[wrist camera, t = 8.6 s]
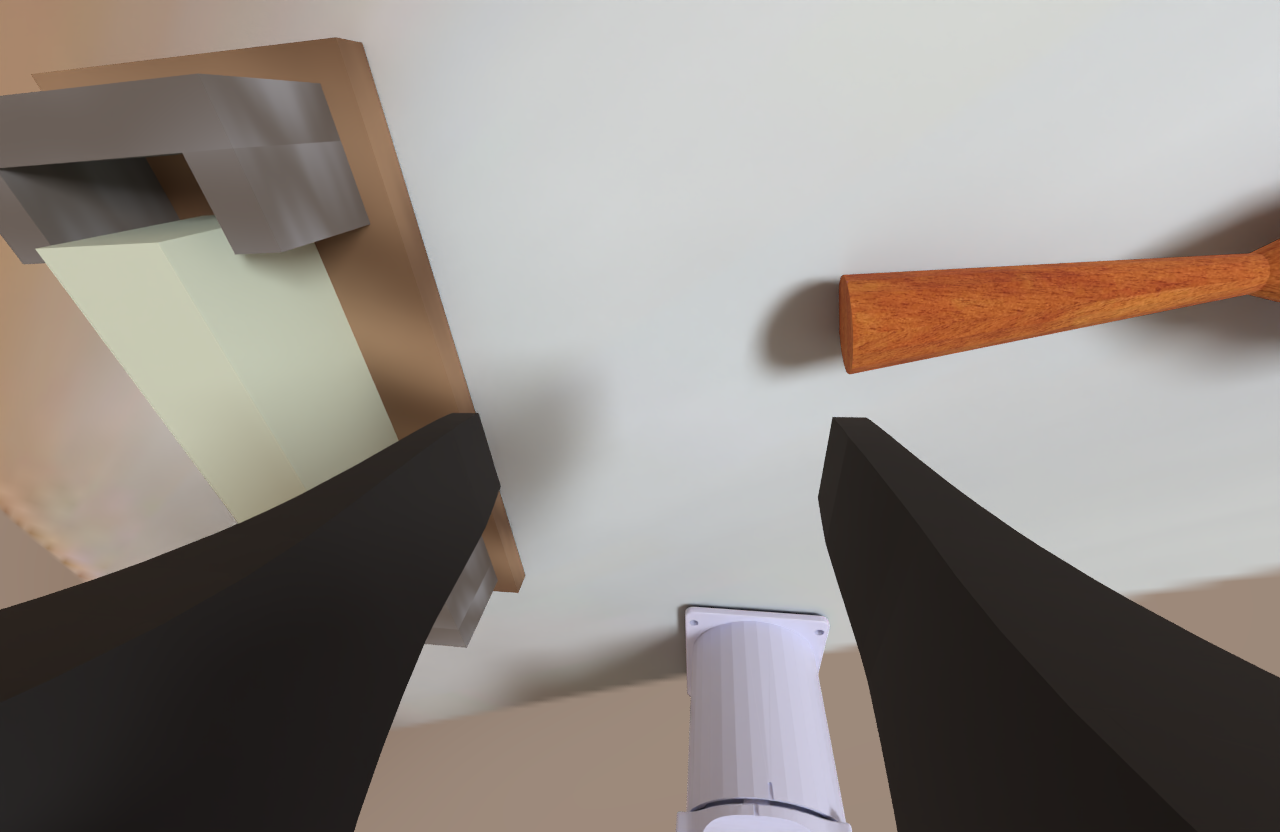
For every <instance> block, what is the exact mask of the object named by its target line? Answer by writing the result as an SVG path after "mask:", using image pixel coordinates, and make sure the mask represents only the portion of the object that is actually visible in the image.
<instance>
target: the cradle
mask: <svg viewBox="0 0 1280 832" xmlns="http://www.w3.org/2000/svg"><path fill="white" fill-rule="evenodd" d="M31 75H32V77H33V78H34V80H35V82H36V83H37V85H38V86H39V88H40V90H41V91H40V92H31V93H22V94H13V95H4V96H0V234H1V236H2V237H3V238H4V240H5V241H6V242H7V244H8V245H9V246H10V247H11V249H12V250H13V251H14V253H15V254H16V255H17V257H18V258H19V259H20V261H21V262H22V263H23V264H39V263H45V261H44V260H43V259H42V257H41V256H40V255H39V253H38V252H37V251H36V249H37V248H42V247H47V246H52V245H57V244H62V243H67V242H72V241H77V240H82V239H87V238H92V237H97V236H102V235H107V234H113V233H118V232H123V231H128V230H133V229H138V228H143V227H148V226H153V225H158V224H163V223H168V222H173V221H178V220H184V219H189V218H194V217H199V216H206V215H215V217H216V219H217V221H218V223H219V224H220V226H221V228H222V230H223V232H224V234H225V236H226V238H227V240H228V242H229V244H230V246H231V247H232V249H233V251H234V253H235V255H236V254H258V253H280V252H285V251H288V250H291V249H294V248H297V247H300V246H304V245H307V244H310V243H313V242H314V243H315V245H316V248H317V250H318V252H319V255H320V257H321V259H322V262H323V264H324V266H325V269H326V271H327V273H328V276H329V278H330V281H331V283H332V285H333V288H334V290H335V292H336V295H337V297H338V299H339V302H340V304H341V306H342V309H343V311H344V313H345V316H346V318H347V320H348V323H349V325H350V327H351V330H352V332H353V334H354V337H355V339H356V342H357V344H358V346H359V349H360V351H361V353H362V356H363V358H364V360H365V363H366V365H367V367H368V370H369V372H370V374H371V377H372V379H373V381H374V384H375V386H376V388H377V391H378V393H379V395H380V398H381V400H382V403H383V405H384V407H385V410H386V412H387V414H388V417H389V419H390V421H391V424H392V426H393V428H394V431H395V433H396V435H397V438H398V440H401V439H403V438H404V437H406V436H408V435H410V434H411V433H413V432H415V431H417V430H419V429H420V428H422V427H424V426H426V425H428V424H430V423H432V422H433V421H435V420H437V419H439V418H442V417H444V416H446V415H448V414H451V413H475V410H474V406H473V403H472V400H471V397H470V393H469V390H468V387H467V384H466V380H465V377H464V374H463V370H462V367H461V364H460V361H459V357H458V354H457V351H456V348H455V344H454V341H453V338H452V335H451V331H450V328H449V325H448V322H447V318H446V315H445V312H444V308H443V305H442V302H441V299H440V295H439V292H438V289H437V286H436V282H435V279H434V276H433V273H432V269H431V266H430V263H429V259H428V256H427V253H426V250H425V246H424V243H423V240H422V237H421V233H420V230H419V227H418V224H417V220H416V217H415V214H414V211H413V207H412V204H411V201H410V197H409V194H408V191H407V188H406V184H405V181H404V178H403V175H402V171H401V168H400V165H399V162H398V158H397V155H396V152H395V148H394V145H393V142H392V139H391V135H390V132H389V129H388V126H387V122H386V119H385V116H384V113H383V109H382V106H381V103H380V100H379V96H378V93H377V90H376V86H375V83H374V80H373V77H372V73H371V70H370V67H369V64H368V60H367V57H366V54H365V51H364V47H363V44H362V43H360V42H355V41H351V40H346V39H341V38H327V39H319V40H311V41H303V42H294V43H286V44H278V45H269V46H261V47H253V48H245V49H236V50H228V51H220V52H212V53H203V54H195V55H187V56H178V57H170V58H162V59H154V60H145V61H137V62H129V63H121V64H112V65H104V66H96V67H87V68H79V69H71V70H63V71H54V72H46V73H38V74H31ZM524 578H525V573H524V570H523V566H522V563H521V560H520V557H519V553H518V550H517V547H516V544H515V540H514V537H513V534H512V530H511V527H510V524H509V521H508V517H507V514H506V511H505V508H504V504H503V501H502V498H501V495H500V491H499V493H498V496H497V498H496V501H495V504H494V507H493V510H492V512H491V515H490V518H489V520H488V523H487V525H486V528H485V530H484V532H483V534H482V536H481V537H480V539H479V541H478V543H477V545H476V547H475V549H474V551H473V553H472V555H471V556H470V558H469V560H468V562H467V564H466V566H465V568H464V569H463V571H462V573H461V575H460V577H459V579H458V580H457V582H456V584H455V586H454V588H453V590H452V591H451V593H450V595H449V597H448V599H447V601H446V603H445V604H444V606H443V608H442V610H441V612H440V614H439V615H438V617H437V619H436V621H435V623H434V625H433V627H432V629H431V631H430V633H429V635H428V637H427V639H426V641H425V644H432V645H443V646H454V647H465V648H467V646H468V644H469V642H470V640H471V637H472V635H473V633H474V631H475V629H476V627H477V624H478V622H479V620H480V618H481V616H482V614H483V611H484V609H485V607H486V605H487V603H488V601H489V598H490V596H491V594H492V592H493V591H500V592H515V593H518V592H519V590H520V587H521V585H522V582H523V580H524Z"/></svg>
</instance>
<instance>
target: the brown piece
mask: <svg viewBox="0 0 1280 832" xmlns="http://www.w3.org/2000/svg"><path fill="white" fill-rule="evenodd" d="M1247 294H1248V295H1252V296H1256V297H1260V298H1264V299H1268V300H1272V301H1276V302H1280V239H1278V240H1276V241H1274V242H1272V243H1270V244H1268V245H1266V246H1264V247H1262V248H1259V249H1257V250H1255V251H1253V252H1251V253H1247V254H1228V255H1209V256H1191V257H1172V258H1153V259H1134V260H1116V261H1097V262H1078V263H1059V264H1040V265H1022V266H1003V267H984V268H965V269H947V270H928V271H909V272H890V273H871V274H853V275H843V276H841V278H840V283H839V334H840V343H841V351H842V356H843V362H844V366H845V369H846V372H847V373H848V374H854V373H859V372H863V371H868V370H873V369H878V368H883V367H888V366H893V365H898V364H903V363H908V362H913V361H918V360H923V359H928V358H933V357H938V356H943V355H948V354H953V353H958V352H963V351H968V350H973V349H978V348H983V347H988V346H993V345H998V344H1003V343H1008V342H1013V341H1018V340H1023V339H1028V338H1033V337H1038V336H1043V335H1048V334H1053V333H1058V332H1063V331H1068V330H1073V329H1078V328H1083V327H1088V326H1092V325H1097V324H1102V323H1107V322H1112V321H1117V320H1122V319H1127V318H1132V317H1137V316H1142V315H1147V314H1152V313H1157V312H1162V311H1167V310H1172V309H1177V308H1182V307H1187V306H1192V305H1197V304H1202V303H1207V302H1212V301H1217V300H1222V299H1227V298H1232V297H1237V296H1242V295H1247Z"/></svg>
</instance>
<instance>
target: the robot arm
mask: <svg viewBox="0 0 1280 832" xmlns="http://www.w3.org/2000/svg"><path fill="white" fill-rule="evenodd" d="M500 487H501V486H500V483H499V480H498V476H497V473H496V470H495V466H494V463H493V460H492V456H491V453H490V450H489V446H488V443H487V440H486V437H485V433H484V430H483V427H482V423H481V420H480V417H479V413H451V414H448V415H446V416H444V417H442V418H439V419H437V420H435V421H433V422H432V423H430V424H428V425H426V426H424V427H422V428H420V429H419V430H417V431H415V432H413V433H411V434H410V435H408V436H406V437H404V438H403V439H401V440H399V441H397V442H396V443H394V444H392V445H390V446H388V447H387V448H385V449H383V450H381V451H380V452H378V453H376V454H374V455H373V456H371V457H369V458H367V459H366V460H364V461H362V462H360V463H359V464H357V465H355V466H353V467H351V468H349V469H347V470H346V471H344V472H342V473H340V474H338V475H336V476H334V477H332V478H331V479H329V480H327V481H325V482H323V483H321V484H319V485H317V486H316V487H314V488H312V489H310V490H308V491H306V492H304V493H302V494H300V495H298V496H296V497H294V498H292V499H290V500H288V501H286V502H284V503H282V504H280V505H278V506H276V507H274V508H272V509H270V510H267V511H265V512H263V513H261V514H259V515H256V516H254V517H252V518H250V519H248V520H245V521H243V522H241V523H239V524H236V525H234V526H232V527H230V528H227V529H225V530H223V531H220V532H218V533H215V534H213V535H210V536H208V537H205V538H203V539H200V540H198V541H195V542H193V543H190V544H188V545H185V546H182V547H180V548H177V549H175V550H172V551H170V552H167V553H165V554H162V555H160V556H157V557H155V558H152V559H150V560H147V561H144V562H142V563H139V564H136V565H134V566H131V567H128V568H125V569H122V570H119V571H117V572H114V573H111V574H108V575H105V576H102V577H100V578H97V579H94V580H91V581H88V582H85V583H82V584H79V585H76V586H73V587H70V588H67V589H64V590H61V591H58V592H55V593H52V594H49V595H46V596H43V597H40V598H37V599H33V600H30V601H27V602H24V603H21V604H17V605H14V606H11V607H8V608H5V609H1V610H0V832H354V830H355V827H356V823H357V820H358V817H359V814H360V811H361V808H362V805H363V802H364V799H365V797H366V794H367V791H368V788H369V785H370V782H371V779H372V777H373V774H374V771H375V768H376V765H377V762H378V760H379V757H380V754H381V751H382V748H383V746H384V743H385V740H386V738H387V735H388V733H389V730H390V727H391V725H392V722H393V720H394V717H395V714H396V712H397V709H398V707H399V704H400V701H401V699H402V696H403V694H404V691H405V689H406V686H407V684H408V682H409V679H410V677H411V675H412V672H413V670H414V667H415V665H416V663H417V660H418V658H419V655H420V653H421V651H422V648H423V646H424V644H425V641H426V639H427V637H428V635H429V633H430V631H431V629H432V627H433V625H434V623H435V621H436V619H437V617H438V615H439V614H440V612H441V610H442V608H443V606H444V604H445V603H446V601H447V599H448V597H449V595H450V593H451V591H452V590H453V588H454V586H455V584H456V582H457V580H458V579H459V577H460V575H461V573H462V571H463V569H464V568H465V566H466V564H467V562H468V560H469V558H470V556H471V555H472V553H473V551H474V549H475V547H476V545H477V543H478V541H479V539H480V537H481V536H482V534H483V532H484V530H485V528H486V525H487V523H488V520H489V518H490V515H491V512H492V510H493V507H494V504H495V501H496V498H497V496H498V493H499V490H500ZM818 501H819V507H820V513H821V520H822V526H823V531H824V536H825V542H826V546H827V549H828V553H829V556H830V559H831V563H832V566H833V569H834V572H835V576H836V579H837V582H838V585H839V588H840V592H841V595H842V598H843V601H844V604H845V607H846V611H847V614H848V617H849V620H850V623H851V626H852V630H853V633H854V636H855V639H856V642H857V645H858V649H859V652H860V655H861V659H862V662H863V666H864V670H865V673H866V677H867V681H868V685H869V689H870V694H871V699H872V704H873V709H874V713H875V718H876V723H877V728H878V732H879V737H880V742H881V746H882V752H883V757H884V762H885V768H886V773H887V778H888V783H889V788H890V793H891V798H892V804H893V809H894V814H895V820H896V825H897V831H898V832H1280V678H1279V677H1277V676H1275V675H1273V674H1271V673H1269V672H1267V671H1265V670H1263V669H1261V668H1259V667H1257V666H1255V665H1253V664H1251V663H1249V662H1247V661H1245V660H1243V659H1241V658H1239V657H1237V656H1235V655H1233V654H1231V653H1229V652H1227V651H1225V650H1223V649H1221V648H1219V647H1217V646H1215V645H1213V644H1211V643H1209V642H1208V641H1206V640H1204V639H1202V638H1200V637H1198V636H1196V635H1194V634H1192V633H1190V632H1189V631H1187V630H1185V629H1183V628H1181V627H1179V626H1178V625H1176V624H1174V623H1172V622H1170V621H1168V620H1166V619H1164V618H1163V617H1161V616H1159V615H1157V614H1155V613H1153V612H1151V611H1149V610H1148V609H1146V608H1144V607H1142V606H1140V605H1138V604H1137V603H1135V602H1133V601H1131V600H1129V599H1128V598H1126V597H1124V596H1122V595H1121V594H1119V593H1117V592H1115V591H1114V590H1112V589H1110V588H1108V587H1107V586H1105V585H1103V584H1101V583H1100V582H1098V581H1096V580H1094V579H1093V578H1091V577H1089V576H1088V575H1086V574H1084V573H1083V572H1081V571H1080V570H1078V569H1076V568H1075V567H1073V566H1071V565H1070V564H1068V563H1066V562H1065V561H1063V560H1062V559H1060V558H1058V557H1057V556H1055V555H1053V554H1052V553H1050V552H1048V551H1047V550H1045V549H1044V548H1042V547H1040V546H1039V545H1037V544H1036V543H1034V542H1033V541H1031V540H1030V539H1028V538H1026V537H1025V536H1023V535H1022V534H1020V533H1019V532H1017V531H1016V530H1014V529H1013V528H1011V527H1010V526H1009V525H1007V524H1006V523H1004V522H1003V521H1001V520H1000V519H999V518H997V517H996V516H994V515H993V514H991V513H990V512H988V511H987V510H986V509H984V508H983V507H981V506H980V505H978V504H977V503H976V502H974V501H973V500H972V499H970V498H969V497H968V496H966V495H965V494H963V493H962V492H961V491H959V490H958V489H957V488H955V487H954V486H953V485H951V484H950V483H949V482H947V481H946V480H945V479H944V478H942V477H941V476H940V475H938V474H937V473H936V472H935V471H933V470H932V469H931V468H929V467H928V466H927V465H926V464H924V463H923V462H922V461H921V460H919V459H918V458H917V457H916V456H914V455H913V454H912V453H911V452H910V451H908V450H907V449H906V448H905V447H903V446H902V445H901V444H900V443H898V442H897V441H896V440H895V439H894V438H892V437H891V436H890V435H889V434H887V433H886V432H885V431H884V430H882V429H881V428H880V427H879V426H877V425H876V424H875V423H873V422H872V421H871V420H869V419H868V418H854V417H833V418H832V424H831V429H830V435H829V440H828V446H827V451H826V457H825V462H824V468H823V473H822V479H821V484H820V490H819V495H818ZM829 628H830V625H829V620H828V619H827V618H826V617H824V616H817V615H803V614H789V613H775V612H761V611H747V610H733V609H719V608H705V607H689V608H687V609H686V611H685V630H686V665H687V693H688V695H689V696H690V697H691V708H690V733H689V760H688V761H689V762H688V787H687V812H678V813H677V824H676V832H852V829H851V825H850V824H849V823H846V820H845V815H844V810H843V804H842V799H841V793H840V788H839V783H838V778H837V772H836V767H835V762H834V757H833V751H832V746H831V741H830V735H829V730H828V725H827V720H826V715H825V709H824V703H823V698H822V693H821V688H820V683H819V677H818V672H819V668H820V664H821V660H822V656H823V652H824V648H825V644H826V640H827V636H828V632H829Z"/></svg>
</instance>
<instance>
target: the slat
mask: <svg viewBox="0 0 1280 832" xmlns="http://www.w3.org/2000/svg"><path fill="white" fill-rule="evenodd" d="M36 251H37V252H38V253H39V255H40V256H41V257H42V259H43V260H44V261H45V263H46V264H47V266H48V267H49V268H50V270H51V271H52V272H53V274H54V275H55V276H56V278H57V279H58V280H59V282H60V283H61V284H62V286H63V287H64V289H65V290H66V291H67V293H68V294H69V295H70V297H71V298H72V299H73V301H74V302H75V303H76V305H77V306H78V307H79V309H80V310H81V311H82V313H83V314H84V316H85V317H86V318H87V320H88V321H89V322H90V324H91V325H92V326H93V328H94V329H95V330H96V332H97V333H98V334H99V336H100V337H101V338H102V340H103V341H104V343H105V344H106V345H107V347H108V348H109V349H110V351H111V352H112V353H113V355H114V356H115V357H116V359H117V360H118V361H119V363H120V364H121V366H122V367H123V368H124V370H125V371H126V372H127V374H128V375H129V376H130V378H131V379H132V380H133V382H134V383H135V384H136V386H137V387H138V388H139V390H140V391H141V393H142V394H143V395H144V397H145V398H146V399H147V401H148V402H149V403H150V405H151V406H152V407H153V409H154V410H155V411H156V413H157V414H158V415H159V417H160V418H161V420H162V421H163V422H164V424H165V425H166V426H167V428H168V429H169V430H170V432H171V433H172V434H173V436H174V437H175V438H176V440H177V441H178V443H179V444H180V445H181V447H182V448H183V449H184V451H185V452H186V453H187V455H188V456H189V457H190V459H191V460H192V461H193V463H194V464H195V465H196V467H197V468H198V470H199V471H200V472H201V474H202V475H203V476H204V478H205V479H206V480H207V482H208V483H209V484H210V486H211V487H212V488H213V490H214V491H215V492H216V494H217V495H218V497H219V498H220V499H221V501H222V502H223V503H224V505H225V506H226V507H227V509H228V510H229V511H230V513H231V514H232V515H233V517H234V518H235V520H236V521H237V522H238V524H239V523H241V522H243V521H245V520H248V519H250V518H252V517H254V516H256V515H259V514H261V513H263V512H265V511H267V510H270V509H272V508H274V507H276V506H278V505H280V504H282V503H284V502H286V501H288V500H290V499H292V498H294V497H296V496H298V495H300V494H302V493H304V492H306V491H308V490H310V489H312V488H314V487H316V486H317V485H319V484H321V483H323V482H325V481H327V480H329V479H331V478H332V477H334V476H336V475H338V474H340V473H342V472H344V471H346V470H347V469H349V468H351V467H353V466H355V465H357V464H359V463H360V462H362V461H364V460H366V459H367V458H369V457H371V456H373V455H374V454H376V453H378V452H380V451H381V450H383V449H385V448H387V447H388V446H390V445H392V444H394V443H396V442H397V441H399V440H398V438H397V435H396V433H395V431H394V428H393V426H392V424H391V421H390V419H389V417H388V414H387V412H386V410H385V407H384V405H383V403H382V400H381V398H380V395H379V393H378V391H377V388H376V386H375V384H374V381H373V379H372V377H371V374H370V372H369V370H368V367H367V365H366V363H365V360H364V358H363V356H362V353H361V351H360V349H359V346H358V344H357V342H356V339H355V337H354V334H353V332H352V330H351V327H350V325H349V323H348V320H347V318H346V316H345V313H344V311H343V309H342V306H341V304H340V302H339V299H338V297H337V295H336V292H335V290H334V288H333V285H332V283H331V281H330V278H329V276H328V273H327V271H326V269H325V266H324V264H323V262H322V259H321V257H320V255H319V252H318V250H317V248H316V245H315V243H314V242H313V243H310V244H307V245H304V246H300V247H297V248H294V249H291V250H288V251H285V252H280V253H258V254H236V255H235V253H234V251H233V249H232V247H231V246H230V244H229V242H228V240H227V238H226V236H225V234H224V232H223V230H222V228H221V226H220V224H219V223H218V221H217V219H216V217H215V215H206V216H199V217H194V218H189V219H184V220H178V221H173V222H168V223H163V224H158V225H153V226H148V227H143V228H138V229H133V230H128V231H123V232H118V233H113V234H107V235H102V236H97V237H92V238H87V239H82V240H77V241H72V242H67V243H62V244H57V245H52V246H47V247H42V248H37V249H36Z"/></svg>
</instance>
